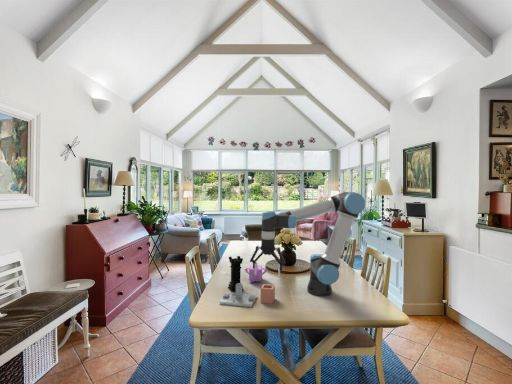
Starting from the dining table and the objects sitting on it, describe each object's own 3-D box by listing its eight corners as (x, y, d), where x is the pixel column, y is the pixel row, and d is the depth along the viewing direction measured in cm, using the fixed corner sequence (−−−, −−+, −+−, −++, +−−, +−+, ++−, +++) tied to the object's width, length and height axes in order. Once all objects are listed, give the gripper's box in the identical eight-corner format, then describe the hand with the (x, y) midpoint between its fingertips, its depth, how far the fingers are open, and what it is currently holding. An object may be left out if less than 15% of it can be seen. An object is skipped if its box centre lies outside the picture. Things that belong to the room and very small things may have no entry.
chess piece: (227, 287, 181) (227, 256, 180) (239, 286, 184) (239, 255, 183) (231, 292, 173) (231, 259, 173) (243, 290, 176) (243, 258, 176)
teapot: (270, 281, 193) (270, 265, 193) (255, 285, 185) (255, 269, 185) (256, 275, 205) (256, 261, 205) (241, 279, 197) (241, 264, 197)
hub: (274, 298, 164) (274, 285, 163) (272, 303, 157) (272, 289, 157) (262, 297, 165) (263, 284, 165) (260, 302, 158) (260, 288, 158)
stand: (256, 297, 165) (257, 281, 165) (251, 307, 152) (251, 289, 151) (227, 294, 169) (227, 279, 169) (219, 304, 156) (219, 287, 155)
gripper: (290, 238, 161) (289, 275, 162) (248, 235, 167) (247, 271, 167) (289, 240, 154) (288, 279, 154) (245, 238, 159) (244, 275, 160)
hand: (267, 275), depth 161 cm, fingers open, 13 cm apart
